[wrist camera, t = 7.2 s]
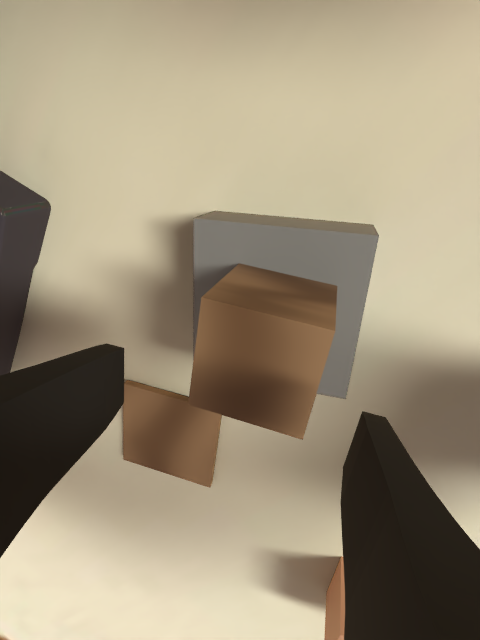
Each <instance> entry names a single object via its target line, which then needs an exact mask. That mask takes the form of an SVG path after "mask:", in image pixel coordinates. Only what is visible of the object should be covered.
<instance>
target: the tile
mask: <svg viewBox="0 0 480 640" xmlns="http://www.w3.org/2000/svg"><path fill="white" fill-rule="evenodd" d="M188 402H189V397H187V396H183V395H180V394H176V393H173V392H169V391H165V390H162V389H158V388H155V387H151V386H148V385H144V384H141V383H137V382H133V381H130V380H126V381H125V382H124V403H123V459H124V460H127V461H130V462H133V463H136V464H139V465H142V466H145V467H148V468H151V469H154V470H157V471H161V472H164V473H167V474H170V475H173V476H176V477H179V478H182V479H185V480H188V481H191V482H194V483H197V484H200V485H203V486H207V487H211V484H212V481H213V474H214V466H215V459H216V452H217V445H218V438H219V431H220V424H221V417H222V415H221V414H218V413H214V412H211V411H208V410H204V409H201V408H198V407H195V406H191V405H188Z"/></svg>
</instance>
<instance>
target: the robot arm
mask: <svg viewBox="0 0 480 640" xmlns="http://www.w3.org/2000/svg"><path fill="white" fill-rule="evenodd" d="M123 403H124V348H121V347H117V346H114V345H110V344H103V345H98V346H95V347H91V348H88V349H85V350H81V351H78V352H75V353H72V354H69V355H66V356H63V357H60V358H57V359H54V360H51V361H47V362H44V363H41V364H38V365H35V366H31V367H28V368H25V369H21V370H18V371H14V372H11V373H7V374H4V375H0V558H1V556H2V555H3V553H4V552H5V551H6V549H7V548H8V546H9V545H10V543H11V542H12V541H13V539H14V538H15V536H16V535H17V534H18V532H19V531H20V530H21V528H22V527H23V526H24V524H25V523H26V522H27V520H28V519H29V518H30V516H31V515H32V514H33V512H34V511H35V510H36V508H37V507H38V506H39V504H40V503H41V502H42V500H43V499H44V498H45V497H46V496H47V494H48V493H49V492H50V491H51V490H52V488H53V487H54V486H55V485H56V484H57V483H58V482H59V481H60V479H61V478H62V477H63V476H64V475H65V474H66V473H67V472H68V471H69V470H70V468H71V467H72V466H73V465H74V464H75V463H76V462H77V461H78V460H79V459H80V457H81V456H82V455H83V454H84V453H85V452H86V451H87V450H88V449H89V447H90V446H91V445H92V444H93V443H94V442H95V441H96V440H97V438H98V437H99V436H100V435H101V434H102V433H103V432H104V430H105V429H106V428H107V427H108V425H109V424H110V422H111V421H112V420H113V418H114V417H115V415H116V414H117V412H118V411H119V409H120V408H121V406H122V405H123ZM341 519H342V541H343V562H344V582H345V627H344V640H480V549H479V548H478V547H477V546H476V545H475V543H474V542H473V541H472V540H471V539H470V538H469V536H468V535H467V534H466V533H465V532H464V530H463V529H462V528H461V527H460V525H459V524H458V523H457V522H456V520H455V519H454V518H453V517H452V515H451V514H450V513H449V511H448V510H447V509H446V507H445V506H444V505H443V503H442V502H441V501H440V499H439V498H438V497H437V495H436V494H435V493H434V491H433V490H432V488H431V487H430V486H429V484H428V483H427V481H426V480H425V478H424V477H423V475H422V474H421V472H420V471H419V470H418V468H417V467H416V465H415V464H414V462H413V460H412V459H411V457H410V456H409V454H408V453H407V451H406V449H405V448H404V446H403V445H402V443H401V441H400V440H399V438H398V437H397V435H396V433H395V432H394V430H393V428H392V427H391V425H390V424H389V422H388V420H387V419H386V417H382V416H378V415H374V414H371V413H367V412H363V411H362V414H361V417H360V420H359V423H358V426H357V429H356V431H355V434H354V437H353V440H352V443H351V446H350V449H349V452H348V455H347V458H346V461H345V464H344V466H343V478H342V492H341Z"/></svg>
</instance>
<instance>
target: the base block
mask: <svg viewBox="0 0 480 640" xmlns="http://www.w3.org/2000/svg"><path fill="white" fill-rule="evenodd" d="M378 238H379V235H378V233H377V231H376V229H375V227H374V225H370V224H359V223H347V222H336V221H325V220H313V219H302V218H290V217H279V216H268V215H256V214H245V213H233V212H222V211H214V212H211V213H208V214H205V215H202V216H199V217H196V218H194V354H195V345H196V337H197V329H198V321H199V313H200V305H201V297H202V296H203V295H205V294H206V293H207V292H208V291H209V290H210V289H211V288H212V287H213V286H215V285H216V284H217V283H218V282H219V281H220V280H221V279H222V278H224V277H225V276H226V275H227V274H228V273H229V272H230V271H231V270H232V269H234V268H235V267H236V266H237V265H238V264H239V263H240V264H245V265H249V266H253V267H258V268H262V269H266V270H271V271H275V272H279V273H284V274H288V275H292V276H297V277H301V278H305V279H310V280H314V281H319V282H323V283H327V284H332V285H336V286H337V306H336V327H335V334H334V337H333V340H332V344H331V347H330V350H329V354H328V357H327V360H326V364H325V367H324V370H323V374H322V377H321V380H320V383H319V387H318V390H317V393H316V394H321V395H327V396H332V397H337V398H343V399H346V395H347V390H348V385H349V380H350V375H351V371H352V366H353V361H354V356H355V351H356V346H357V341H358V336H359V331H360V326H361V321H362V316H363V312H364V307H365V302H366V297H367V292H368V287H369V282H370V277H371V272H372V267H373V262H374V257H375V252H376V248H377V243H378Z"/></svg>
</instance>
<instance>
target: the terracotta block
mask: <svg viewBox="0 0 480 640" xmlns="http://www.w3.org/2000/svg"><path fill="white" fill-rule="evenodd" d="M344 627H345V582H344V562H343V557H341V558H340V560H339V563H338V565H337V568H336V570H335V573H334V575H333V578H332V580H331V583H330V585H329V588H328V590H327V594H326V618H325V640H344Z"/></svg>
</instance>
